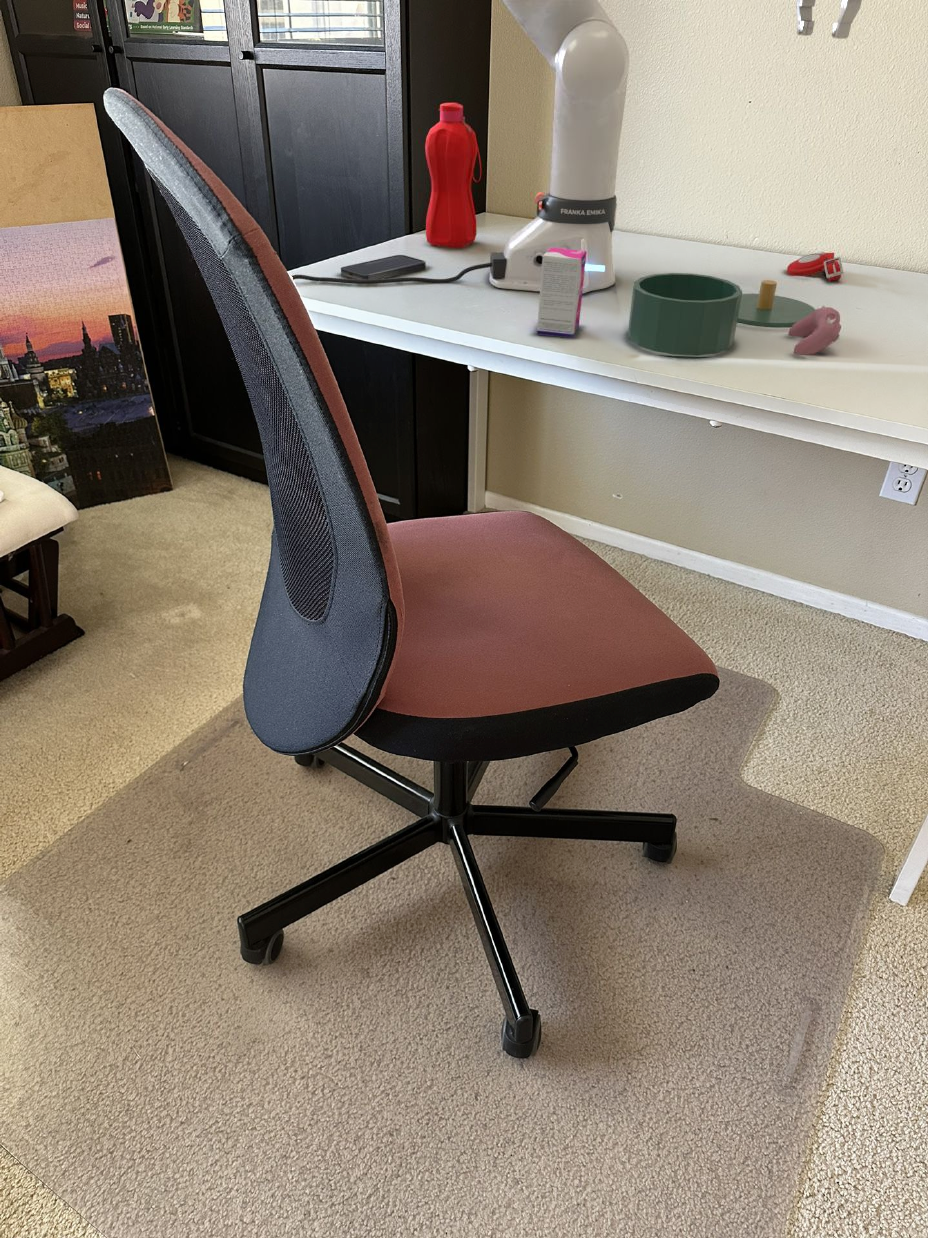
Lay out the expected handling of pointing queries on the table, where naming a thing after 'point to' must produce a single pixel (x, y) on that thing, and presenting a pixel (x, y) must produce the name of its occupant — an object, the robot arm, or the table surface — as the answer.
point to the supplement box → (561, 292)
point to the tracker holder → (817, 266)
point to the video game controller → (816, 330)
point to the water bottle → (451, 179)
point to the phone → (383, 268)
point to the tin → (684, 314)
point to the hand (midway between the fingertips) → (821, 36)
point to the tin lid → (771, 308)
